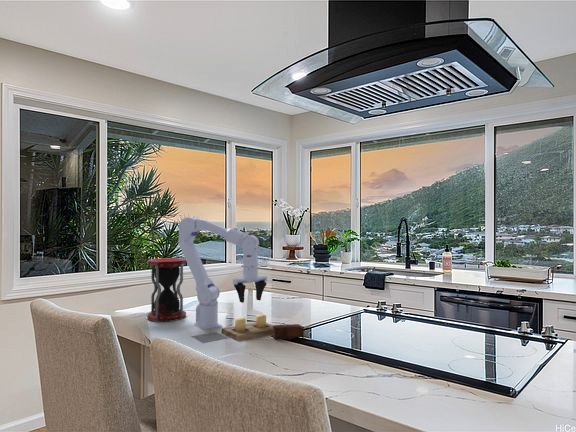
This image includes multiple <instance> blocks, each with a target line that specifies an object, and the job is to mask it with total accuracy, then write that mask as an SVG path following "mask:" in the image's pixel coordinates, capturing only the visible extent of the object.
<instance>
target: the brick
mask: <svg viewBox="0 0 576 432" xmlns="http://www.w3.org/2000/svg"><path fill="white" fill-rule="evenodd" d="M273 325H274V326H273V335H272V338H273V340H275V341H276V340H285V341H286V340H287V341H288V340H293V339H292V338H295V337H302V338H303V337H304V335H305V330H304V327H303V325H300V324H299V323H293V324H292V323H291V324H273Z"/></svg>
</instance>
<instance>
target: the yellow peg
mask: <svg viewBox="0 0 576 432" xmlns="http://www.w3.org/2000/svg"><path fill="white" fill-rule="evenodd" d="M234 319H235V320H234V326H235V332H237V333H238V332H244V331H246V324H247V323H246V318H244V317H237V318H234Z"/></svg>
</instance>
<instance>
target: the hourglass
mask: <svg viewBox="0 0 576 432" xmlns="http://www.w3.org/2000/svg"><path fill="white" fill-rule="evenodd" d="M185 264H187V261H186V259H185V258H183V257H182V258H180V257H163V258H161V257H160V258H149V259H147V265H149V266H151V282H152V284H153V286H154V289H153V292H152V293H151V297H150V298H151V300H150V305H151V306H150V307H151V309H150V310H151V311H150V312H149V313H147V315H146V319H147V320H148V321H152V322H156V323H157V322H162V323H163V322H172V321H173V322H174V321H179V320H180V321H181V320H182V319H184V318H186V317H187V311H185V310H184V297H183V294H182V293H181V285H182V284H183V282H184V265H185ZM178 279H179V282H178V284H177V281H178ZM162 287H163V289H162ZM171 287H172V290H171ZM156 293H157V294H156ZM155 295H156V297H155ZM178 296H179V297H178Z"/></svg>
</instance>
